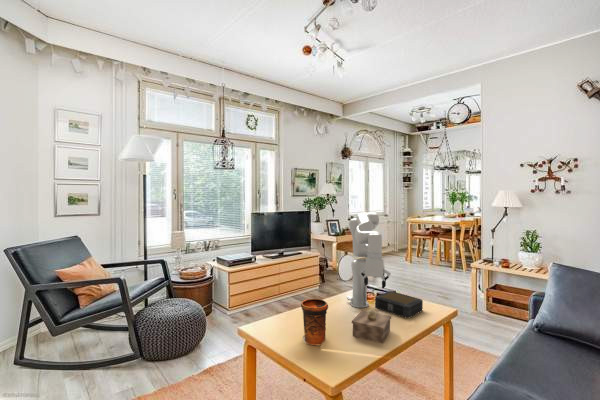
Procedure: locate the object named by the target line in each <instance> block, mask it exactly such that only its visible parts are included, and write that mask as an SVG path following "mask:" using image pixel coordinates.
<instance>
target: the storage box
mask: <svg viewBox="0 0 600 400" xmlns="http://www.w3.org/2000/svg"><path fill="white" fill-rule="evenodd" d="M390 332H391V320H390V321H389V322H388V324H387V326H386V327H385V329H384V330H380V329H376V328H371V327H366V326H362V325H357V324H353V323H352V336H353V337H355V338H360V339H363V340H364V339H365V340H367V341H372V342H376V343H380V344H384V342H385V340H386V338H388V337H387V336H388V335H389V333H390Z"/></svg>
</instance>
